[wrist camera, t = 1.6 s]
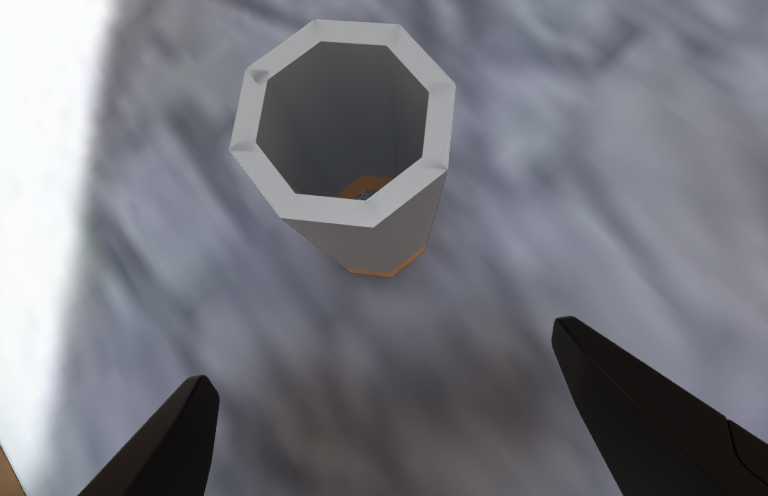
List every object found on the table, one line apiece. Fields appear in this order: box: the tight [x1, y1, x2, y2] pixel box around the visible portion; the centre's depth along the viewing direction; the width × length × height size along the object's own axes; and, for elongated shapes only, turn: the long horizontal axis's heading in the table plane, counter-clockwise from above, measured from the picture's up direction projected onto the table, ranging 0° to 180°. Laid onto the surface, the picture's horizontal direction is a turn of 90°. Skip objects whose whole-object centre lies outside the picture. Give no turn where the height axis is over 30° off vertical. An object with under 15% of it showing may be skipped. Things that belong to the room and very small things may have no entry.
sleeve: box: [229, 19, 456, 278], centre depth 17 cm, size 6×6×13 cm
